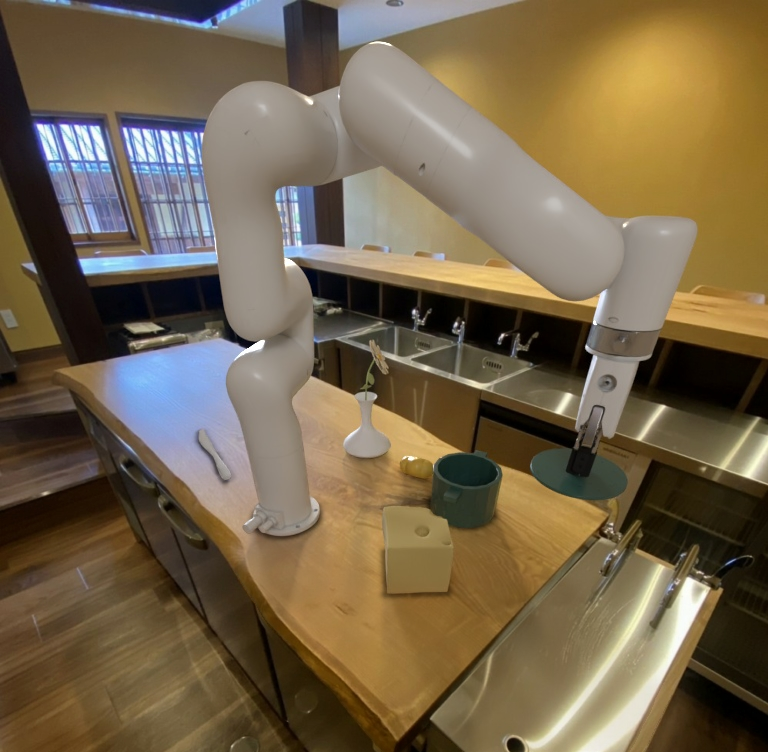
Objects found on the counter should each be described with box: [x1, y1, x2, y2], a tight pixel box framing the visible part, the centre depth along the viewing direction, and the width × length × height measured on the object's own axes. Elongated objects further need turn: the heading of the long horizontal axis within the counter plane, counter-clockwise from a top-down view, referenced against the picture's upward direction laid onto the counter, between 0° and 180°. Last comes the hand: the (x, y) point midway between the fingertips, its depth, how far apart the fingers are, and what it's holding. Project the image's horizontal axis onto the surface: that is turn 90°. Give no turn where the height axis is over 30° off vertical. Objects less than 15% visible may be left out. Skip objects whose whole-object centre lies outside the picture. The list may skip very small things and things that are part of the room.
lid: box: [529, 436, 629, 501], centre depth 62 cm, size 14×14×6 cm
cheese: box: [381, 505, 455, 595], centre depth 67 cm, size 10×11×10 cm
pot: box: [429, 450, 504, 529], centre depth 82 cm, size 13×18×9 cm
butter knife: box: [198, 428, 232, 481], centre depth 100 cm, size 1×27×3 cm
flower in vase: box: [342, 339, 392, 459], centre depth 95 cm, size 13×11×25 cm
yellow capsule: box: [399, 455, 434, 480], centre depth 92 cm, size 8×4×4 cm, turn 62°
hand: (579, 466), depth 63 cm, fingers closed on lid, 3 cm apart
